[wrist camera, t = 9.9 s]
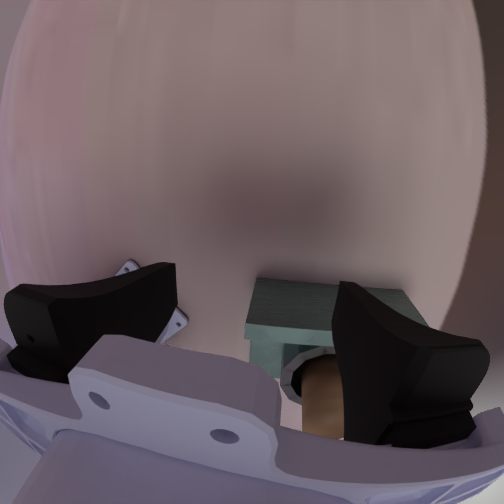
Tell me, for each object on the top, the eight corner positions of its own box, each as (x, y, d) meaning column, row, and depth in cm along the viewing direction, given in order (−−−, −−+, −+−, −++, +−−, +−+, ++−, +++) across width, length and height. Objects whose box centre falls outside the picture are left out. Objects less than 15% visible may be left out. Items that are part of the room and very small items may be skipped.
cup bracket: (371, 376, 25) (385, 424, 19) (249, 369, 26) (239, 421, 20) (402, 290, 22) (433, 333, 15) (256, 277, 23) (245, 323, 17)
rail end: (317, 377, 24) (322, 446, 16) (291, 354, 23) (290, 426, 16) (352, 356, 23) (369, 424, 15) (328, 330, 22) (341, 401, 14)
